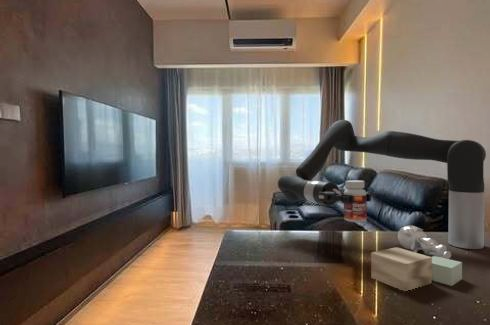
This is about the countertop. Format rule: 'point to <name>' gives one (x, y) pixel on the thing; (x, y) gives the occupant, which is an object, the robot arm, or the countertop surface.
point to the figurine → (421, 242)
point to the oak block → (401, 268)
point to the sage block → (446, 270)
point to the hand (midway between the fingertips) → (361, 198)
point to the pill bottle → (356, 202)
